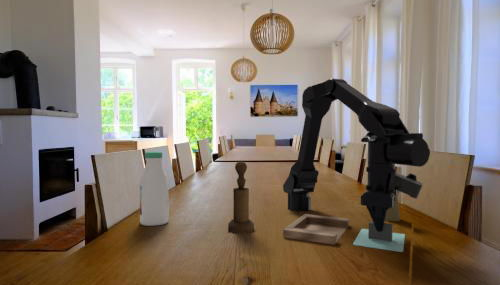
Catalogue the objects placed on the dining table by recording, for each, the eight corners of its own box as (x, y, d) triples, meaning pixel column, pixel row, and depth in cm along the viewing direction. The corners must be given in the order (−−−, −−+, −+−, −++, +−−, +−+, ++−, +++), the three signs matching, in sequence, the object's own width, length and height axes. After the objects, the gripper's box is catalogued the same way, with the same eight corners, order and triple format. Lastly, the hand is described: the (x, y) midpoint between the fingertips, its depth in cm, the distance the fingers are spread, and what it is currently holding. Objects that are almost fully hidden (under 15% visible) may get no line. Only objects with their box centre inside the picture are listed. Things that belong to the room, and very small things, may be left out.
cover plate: (352, 247, 74) (353, 227, 73) (361, 231, 86) (362, 214, 85) (402, 255, 69) (403, 234, 69) (404, 237, 81) (405, 219, 81)
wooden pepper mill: (257, 229, 88) (257, 161, 87) (249, 237, 81) (249, 163, 81) (233, 227, 90) (233, 160, 89) (224, 234, 84) (223, 162, 83)
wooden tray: (283, 240, 79) (283, 229, 79) (304, 223, 94) (304, 213, 94) (334, 248, 74) (334, 236, 73) (348, 228, 89) (348, 218, 89)
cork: (403, 224, 92) (403, 185, 92) (379, 223, 94) (380, 184, 93) (398, 219, 98) (398, 181, 98) (376, 218, 99) (376, 181, 99)
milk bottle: (174, 221, 96) (173, 151, 96) (156, 227, 89) (155, 152, 89) (153, 218, 100) (152, 150, 99) (133, 224, 93) (133, 152, 92)
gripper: (420, 168, 65) (419, 248, 65) (420, 160, 82) (418, 224, 82) (360, 165, 70) (359, 240, 70) (371, 159, 87) (370, 219, 87)
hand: (379, 230), depth 77 cm, fingers closed on cover plate, 2 cm apart
